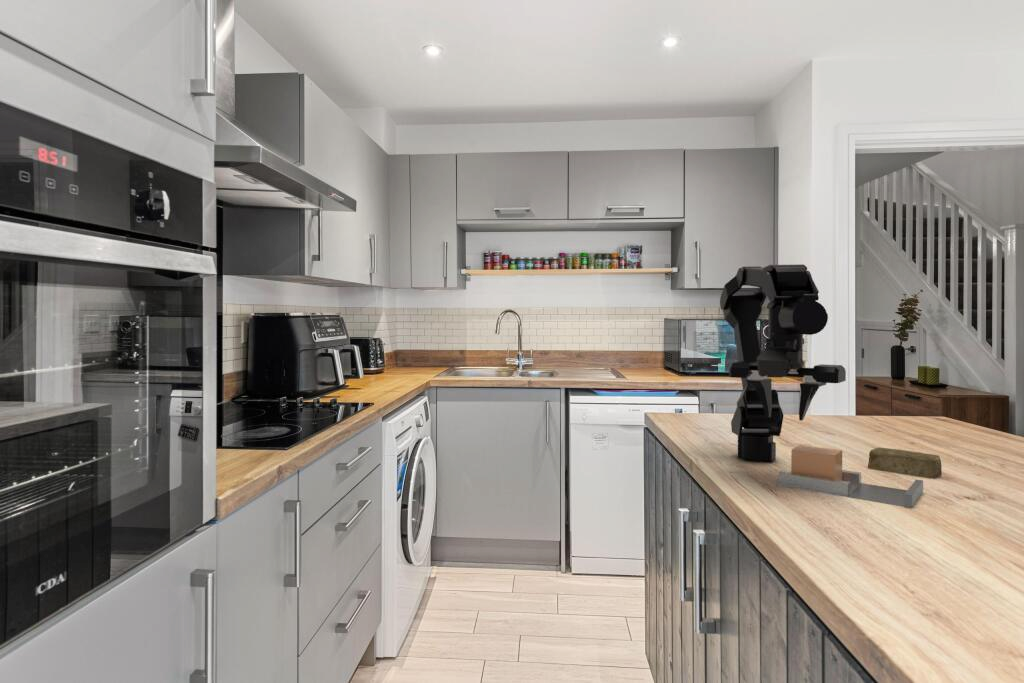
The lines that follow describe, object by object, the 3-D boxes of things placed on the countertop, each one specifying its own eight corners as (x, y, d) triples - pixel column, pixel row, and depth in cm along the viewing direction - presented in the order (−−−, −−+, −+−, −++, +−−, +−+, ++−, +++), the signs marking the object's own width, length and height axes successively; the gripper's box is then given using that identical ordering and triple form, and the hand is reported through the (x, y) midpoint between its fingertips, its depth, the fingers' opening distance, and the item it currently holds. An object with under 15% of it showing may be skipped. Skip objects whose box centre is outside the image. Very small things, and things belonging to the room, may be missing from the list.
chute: (776, 490, 105) (776, 473, 105) (796, 477, 113) (796, 462, 113) (911, 514, 92) (912, 495, 91) (922, 498, 100) (923, 480, 100)
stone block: (935, 485, 108) (936, 458, 108) (865, 474, 116) (865, 449, 116) (943, 479, 112) (943, 453, 112) (874, 469, 120) (874, 444, 120)
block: (791, 482, 106) (791, 449, 106) (799, 477, 110) (800, 445, 110) (834, 490, 101) (834, 455, 101) (842, 483, 105) (842, 450, 105)
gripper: (717, 334, 109) (717, 419, 109) (829, 335, 96) (828, 431, 97) (740, 332, 117) (740, 411, 117) (846, 333, 104) (845, 421, 105)
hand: (784, 418), depth 109 cm, fingers open, 5 cm apart
